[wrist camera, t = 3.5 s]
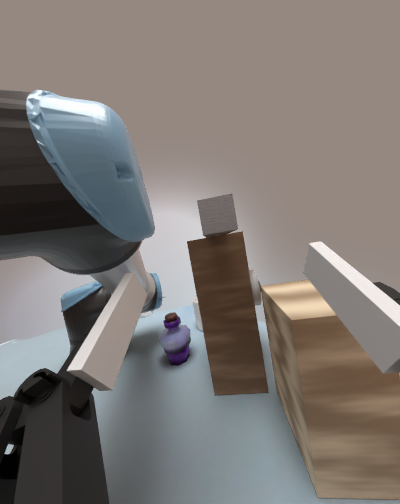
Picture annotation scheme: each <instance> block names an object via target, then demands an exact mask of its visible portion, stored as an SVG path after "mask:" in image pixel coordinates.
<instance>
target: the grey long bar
mask: <svg viewBox="0 0 400 504" xmlns="http://www.w3.org/2000/svg"><path fill="white" fill-rule="evenodd" d="M197 202H198V208H199V213H200V219H201V225H202V231H203V235H204V236H205V237H206V238H209V237H215V236H220V235H226V234H228V233H230V232H233V231H235V230H237V229H238V227H237V220H236V214H235V208H234V202H233V196H232V194H229V195H223V196H218V197H213V198H209V199H203V200H198V201H197Z"/></svg>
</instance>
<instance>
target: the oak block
mask: <svg viewBox="0 0 400 504" xmlns="http://www.w3.org/2000/svg"><path fill="white" fill-rule="evenodd" d="M260 288H261V294H262V300H263V307H264V313H265V319H266V325H267V332H268V338H269V344H270V351H271V357H272V363H273V370H274V376H275V382H276V388H277V393H278V396H279V398H280V401H281V403H282V406H283V409H284V411H285V414H286V416H287V419H288V421H289V424H290V427H291V429H292V432H293V434H294V437H295V439H296V442H297V445H298V447H299V450H300V452H301V455H302V457H303V460H304V463H305V465H306V468H307V470H308V473H309V475H310V478H311V481H312V483H313V486H314V488H315V491H316V493H317V496H318V498H349V499H390V500H400V375H399V373H384V374H383V373H382V372H381V370H380V369H379V368H378V367H377V365H376V364H375V363H374V362H373V360H372V359H371V358H370V357H369V355H368V354H367V353H366V352H365V350H364V349H363V348H362V346H361V345H360V344H359V343H358V341H357V340H356V339H355V338H354V336H353V335H352V334H351V333H350V331H349V330H348V329H347V328H346V326H345V325H344V324H343V323H342V321H341V320H340V319H339V317H338V316H337V315H336V314H335V312H334V311H333V310H332V309H331V307H330V306H329V305H328V304H327V302H326V301H325V300H324V299H323V297H322V296H321V295H320V293H319V292H318V291H317V290H316V288H315V287H314V286H313V285H312V283H311V282H310V281H309V280H300V281H294V282H286V283H280V284H271V285H264V286H260Z"/></svg>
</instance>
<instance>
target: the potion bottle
mask: <svg viewBox="0 0 400 504" xmlns="http://www.w3.org/2000/svg"><path fill="white" fill-rule="evenodd" d="M180 323H181V321H180V318H179V317H178V316H177V314H176V313H169V314H167V315H166V316H165V320H164V326H165V328H166V329H165V330H164V331H163V332H162V333H161V334H160V335H159V336H158V338H159V340H160V342H161V344H162V347H163V349H164V351H165V353H166V354H167V356H168V358H169V362H170V364H171V365H177V366H179V365H181V364H182V363H184V362H186V361H187V359H188V357H189V354H188V352H189V344H190V341H191V338H190V329H189V328H188V327H187V326H186V325H179V324H180Z"/></svg>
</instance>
